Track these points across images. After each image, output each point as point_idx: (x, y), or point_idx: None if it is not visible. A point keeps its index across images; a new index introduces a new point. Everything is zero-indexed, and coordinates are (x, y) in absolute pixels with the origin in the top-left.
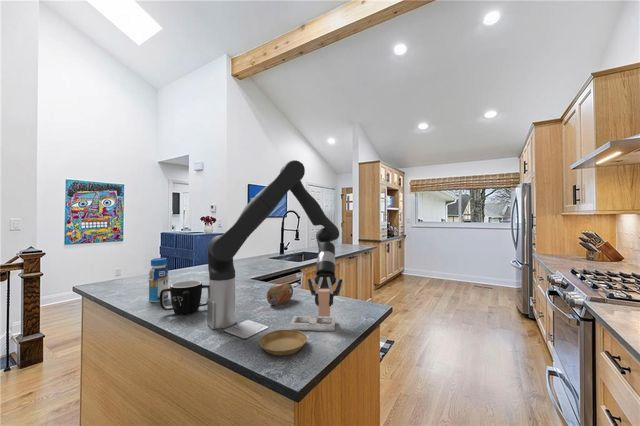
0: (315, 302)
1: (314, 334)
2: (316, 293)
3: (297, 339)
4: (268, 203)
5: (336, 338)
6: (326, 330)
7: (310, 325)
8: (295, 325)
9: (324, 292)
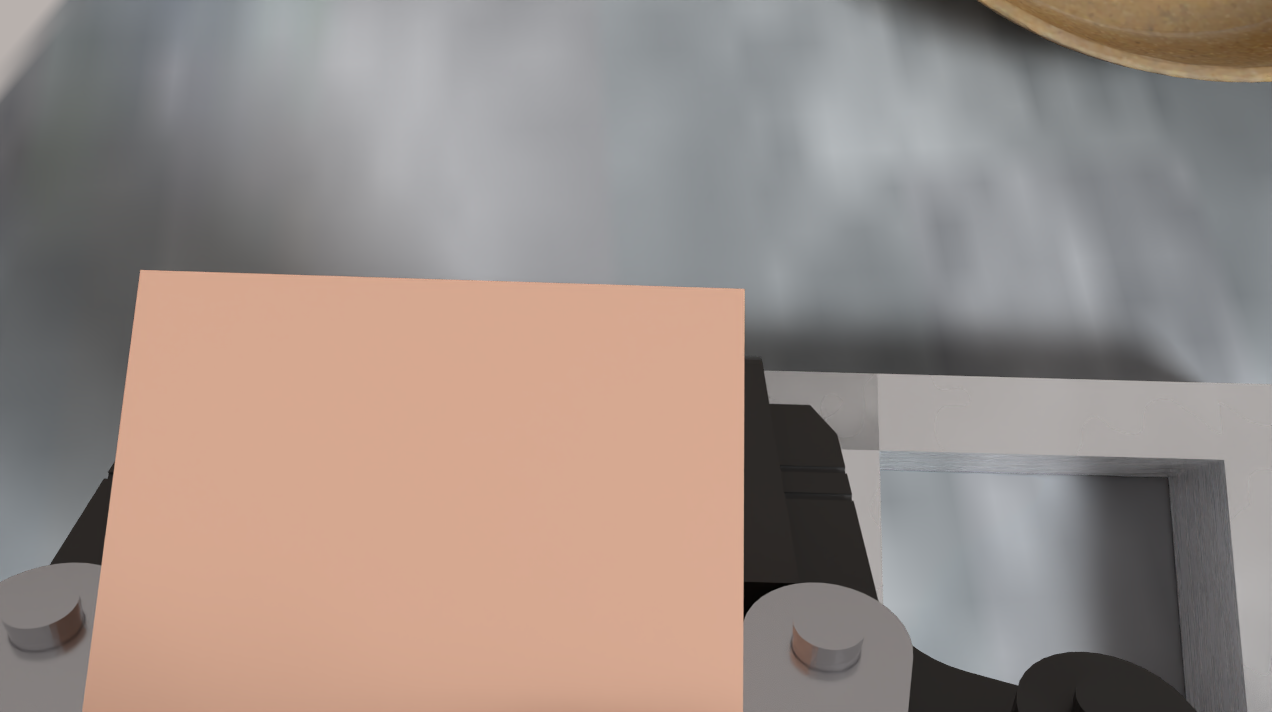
0: (804, 412)
1: (714, 225)
2: (838, 592)
3: None
4: None
5: (312, 90)
6: None
7: (830, 373)
8: (1152, 385)
9: (412, 290)
